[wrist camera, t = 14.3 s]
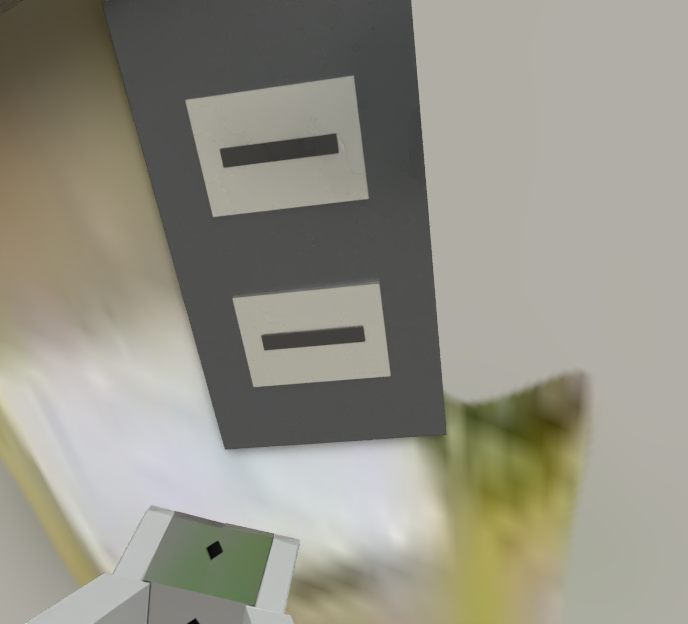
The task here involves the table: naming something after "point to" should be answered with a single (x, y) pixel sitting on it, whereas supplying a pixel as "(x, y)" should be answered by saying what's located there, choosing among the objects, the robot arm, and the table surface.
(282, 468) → the table surface
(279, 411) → the plate
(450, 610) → the table surface
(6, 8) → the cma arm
